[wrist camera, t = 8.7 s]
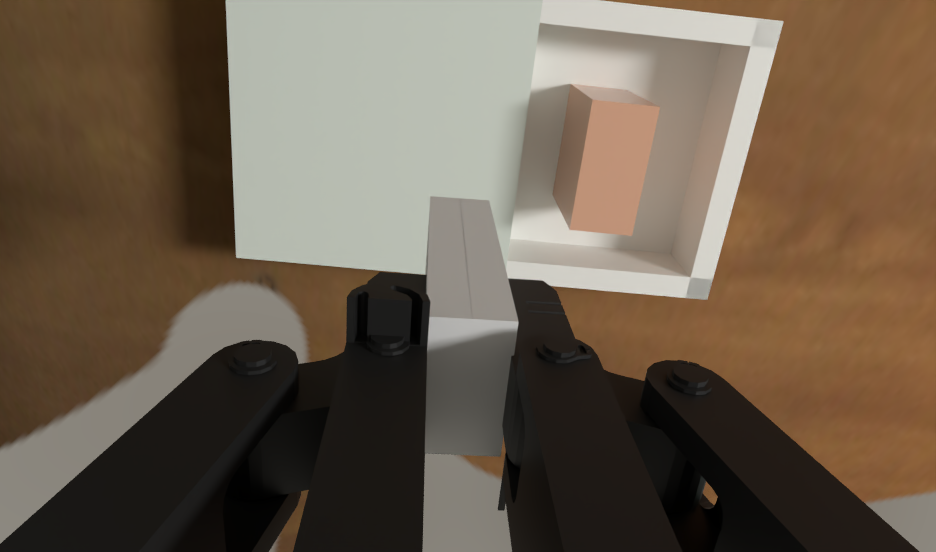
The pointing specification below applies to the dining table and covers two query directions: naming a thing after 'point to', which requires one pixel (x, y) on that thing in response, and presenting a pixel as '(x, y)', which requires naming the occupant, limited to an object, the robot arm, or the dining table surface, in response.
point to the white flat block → (373, 122)
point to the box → (673, 148)
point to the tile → (603, 158)
